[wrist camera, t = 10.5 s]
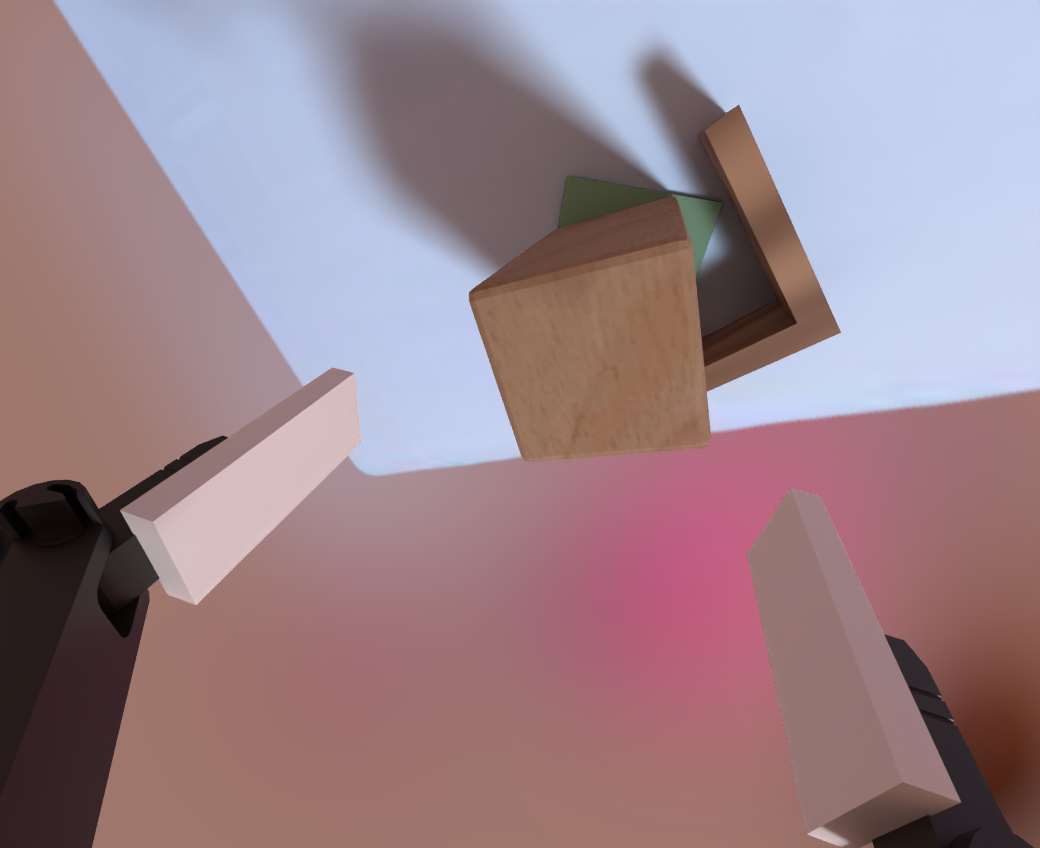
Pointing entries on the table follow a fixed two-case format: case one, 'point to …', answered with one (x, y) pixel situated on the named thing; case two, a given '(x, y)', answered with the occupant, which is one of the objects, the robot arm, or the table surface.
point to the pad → (606, 198)
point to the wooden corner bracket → (762, 263)
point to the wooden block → (600, 338)
